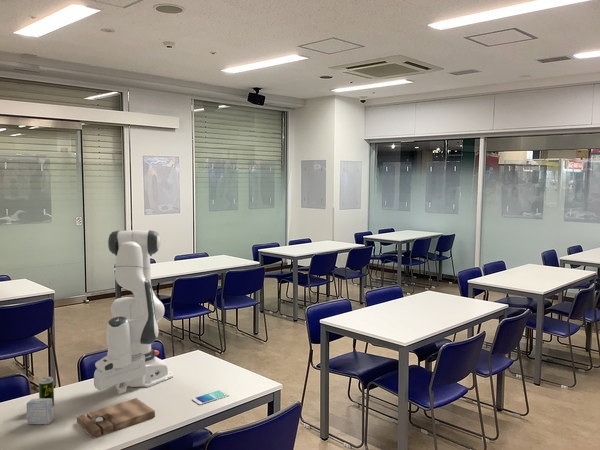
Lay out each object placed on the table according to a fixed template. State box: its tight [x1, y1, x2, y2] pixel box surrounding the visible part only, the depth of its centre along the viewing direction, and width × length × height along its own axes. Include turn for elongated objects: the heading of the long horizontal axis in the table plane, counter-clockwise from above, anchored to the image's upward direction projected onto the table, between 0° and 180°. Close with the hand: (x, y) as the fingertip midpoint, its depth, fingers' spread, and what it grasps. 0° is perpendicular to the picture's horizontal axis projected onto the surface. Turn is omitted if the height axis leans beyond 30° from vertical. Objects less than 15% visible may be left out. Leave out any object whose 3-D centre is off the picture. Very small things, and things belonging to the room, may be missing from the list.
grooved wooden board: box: [76, 397, 156, 439], centre depth 194 cm, size 24×16×2 cm, turn 134°
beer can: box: [38, 376, 55, 407], centre depth 204 cm, size 5×5×12 cm
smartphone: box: [191, 389, 230, 406], centre depth 214 cm, size 8×1×15 cm
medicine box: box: [26, 398, 54, 425], centre depth 191 cm, size 8×4×9 cm, turn 92°
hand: (122, 392), depth 197 cm, fingers closed
